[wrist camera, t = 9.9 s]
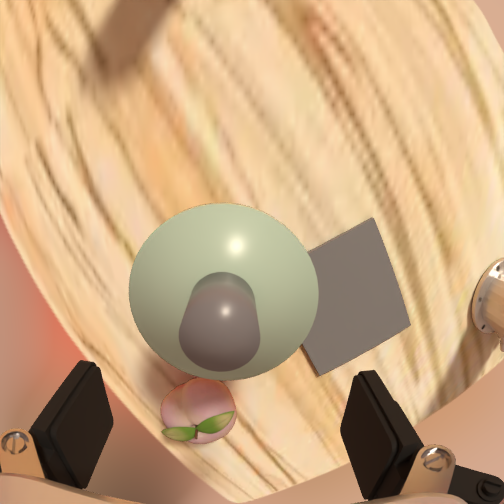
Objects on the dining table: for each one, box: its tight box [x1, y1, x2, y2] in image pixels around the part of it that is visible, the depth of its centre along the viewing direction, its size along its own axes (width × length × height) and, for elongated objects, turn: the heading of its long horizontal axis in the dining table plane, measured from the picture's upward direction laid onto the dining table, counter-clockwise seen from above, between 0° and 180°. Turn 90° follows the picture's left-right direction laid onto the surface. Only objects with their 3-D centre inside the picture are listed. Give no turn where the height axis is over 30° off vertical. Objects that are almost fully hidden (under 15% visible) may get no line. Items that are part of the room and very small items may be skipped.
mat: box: [302, 218, 411, 376], centre depth 37 cm, size 16×14×1 cm
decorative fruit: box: [161, 378, 236, 444], centre depth 35 cm, size 9×8×10 cm
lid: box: [129, 203, 319, 381], centre depth 18 cm, size 12×12×6 cm
